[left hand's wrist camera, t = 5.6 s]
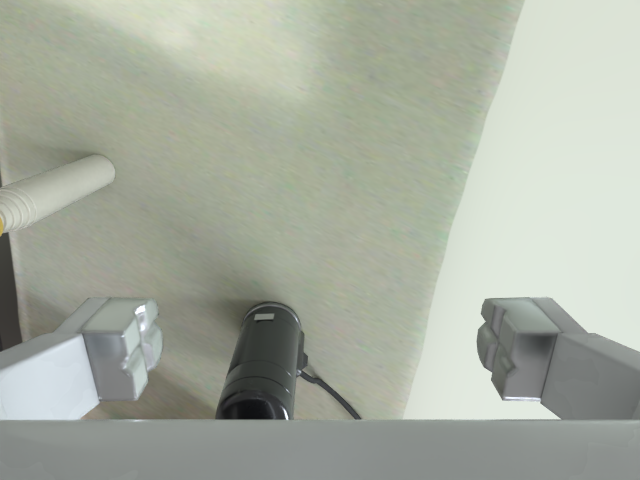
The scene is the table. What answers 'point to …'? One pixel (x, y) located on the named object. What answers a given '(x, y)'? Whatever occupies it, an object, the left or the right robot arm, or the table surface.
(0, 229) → the cap
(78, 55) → the table surface
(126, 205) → the table surface
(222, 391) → the right robot arm
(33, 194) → the bottle
